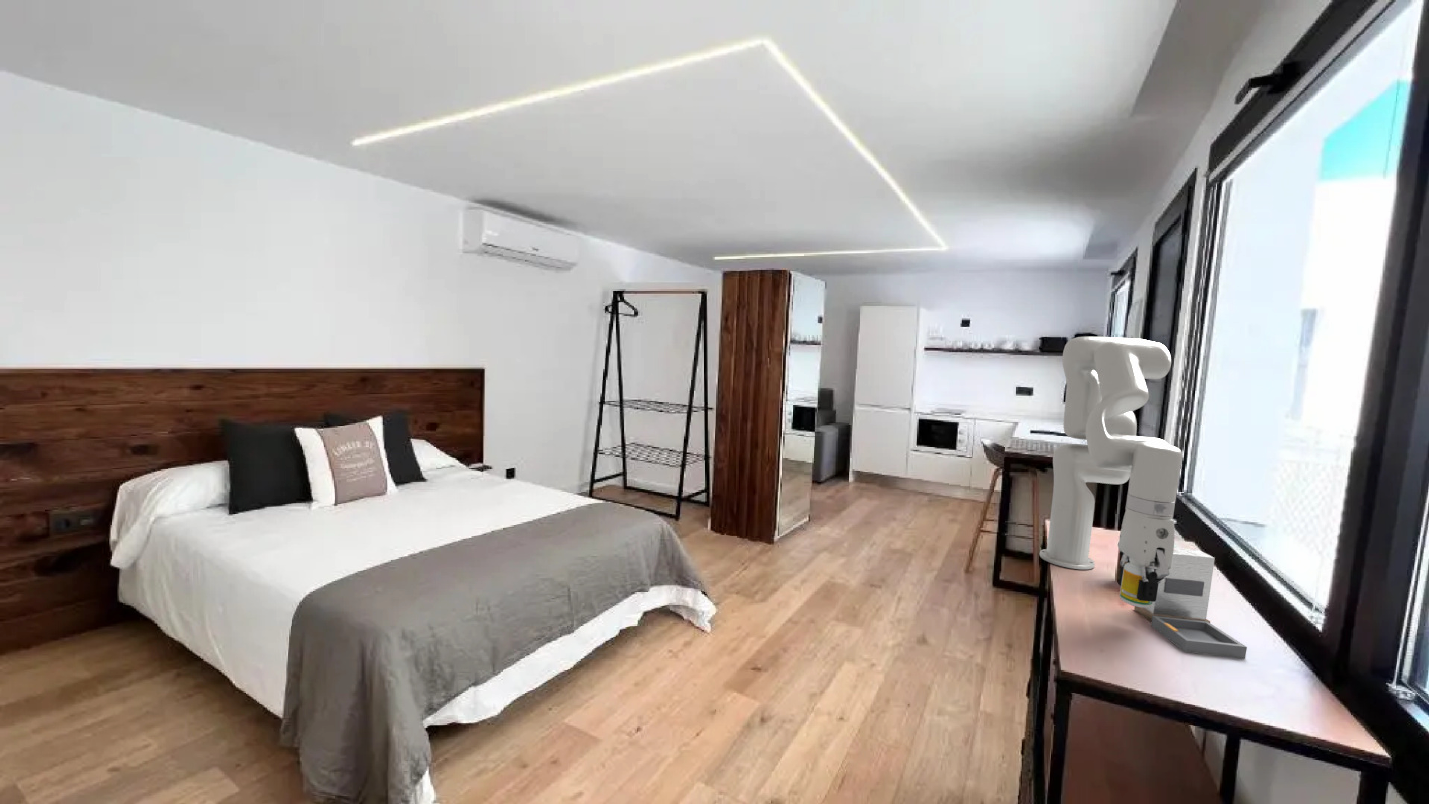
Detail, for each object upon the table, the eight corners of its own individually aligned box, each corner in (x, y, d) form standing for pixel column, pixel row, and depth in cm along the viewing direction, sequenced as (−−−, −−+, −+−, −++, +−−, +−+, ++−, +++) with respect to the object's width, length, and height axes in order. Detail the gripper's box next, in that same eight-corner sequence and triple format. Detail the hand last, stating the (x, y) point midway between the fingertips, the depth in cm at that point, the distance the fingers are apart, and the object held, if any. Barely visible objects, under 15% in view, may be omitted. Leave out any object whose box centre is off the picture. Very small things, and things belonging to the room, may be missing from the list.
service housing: (1134, 609, 125) (1142, 543, 124) (1189, 615, 124) (1198, 548, 123) (1151, 622, 119) (1160, 553, 118) (1209, 628, 118) (1219, 558, 117)
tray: (1151, 626, 118) (1152, 614, 117) (1205, 631, 116) (1207, 620, 116) (1184, 651, 108) (1186, 639, 107) (1245, 658, 106) (1247, 646, 106)
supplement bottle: (1118, 593, 119) (1125, 549, 118) (1150, 601, 116) (1157, 555, 115) (1119, 603, 115) (1126, 557, 114) (1153, 611, 112) (1160, 564, 111)
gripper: (1201, 522, 104) (1185, 616, 107) (1144, 495, 121) (1132, 577, 123) (1156, 518, 105) (1142, 611, 107) (1105, 492, 122) (1094, 573, 124)
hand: (1136, 592), depth 115 cm, fingers closed on supplement bottle, 5 cm apart
